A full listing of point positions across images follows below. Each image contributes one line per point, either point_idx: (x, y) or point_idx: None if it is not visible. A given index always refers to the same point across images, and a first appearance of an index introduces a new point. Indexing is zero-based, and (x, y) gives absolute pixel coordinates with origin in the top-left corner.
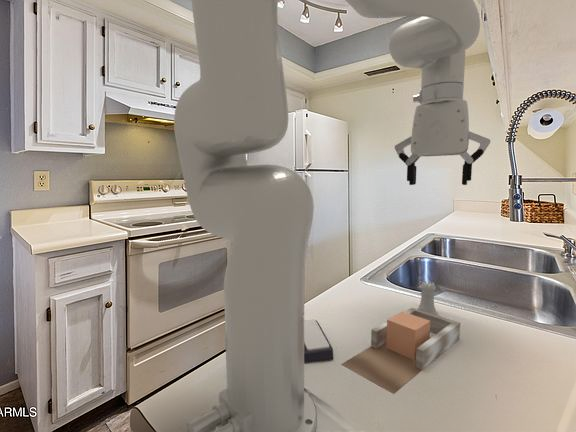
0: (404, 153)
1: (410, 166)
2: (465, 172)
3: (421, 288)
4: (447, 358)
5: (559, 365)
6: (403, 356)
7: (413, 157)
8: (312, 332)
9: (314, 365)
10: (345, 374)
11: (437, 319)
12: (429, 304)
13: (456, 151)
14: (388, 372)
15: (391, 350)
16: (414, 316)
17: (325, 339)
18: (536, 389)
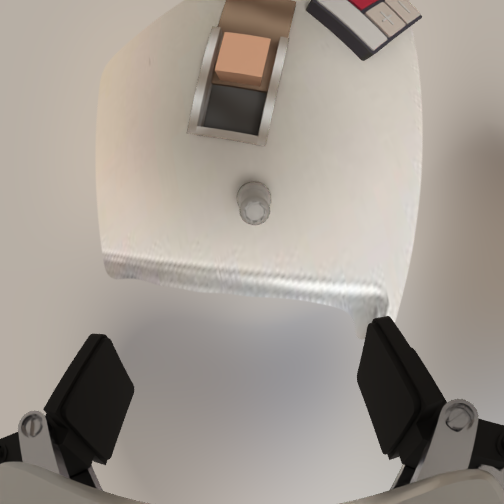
0: (492, 474)
1: (436, 395)
2: (69, 374)
3: (264, 200)
4: None
5: (103, 169)
6: None
7: (444, 463)
8: (353, 18)
9: None
10: None
11: (219, 129)
12: (248, 195)
13: (27, 472)
14: (245, 12)
15: None
16: (239, 70)
17: (329, 8)
18: (119, 101)
